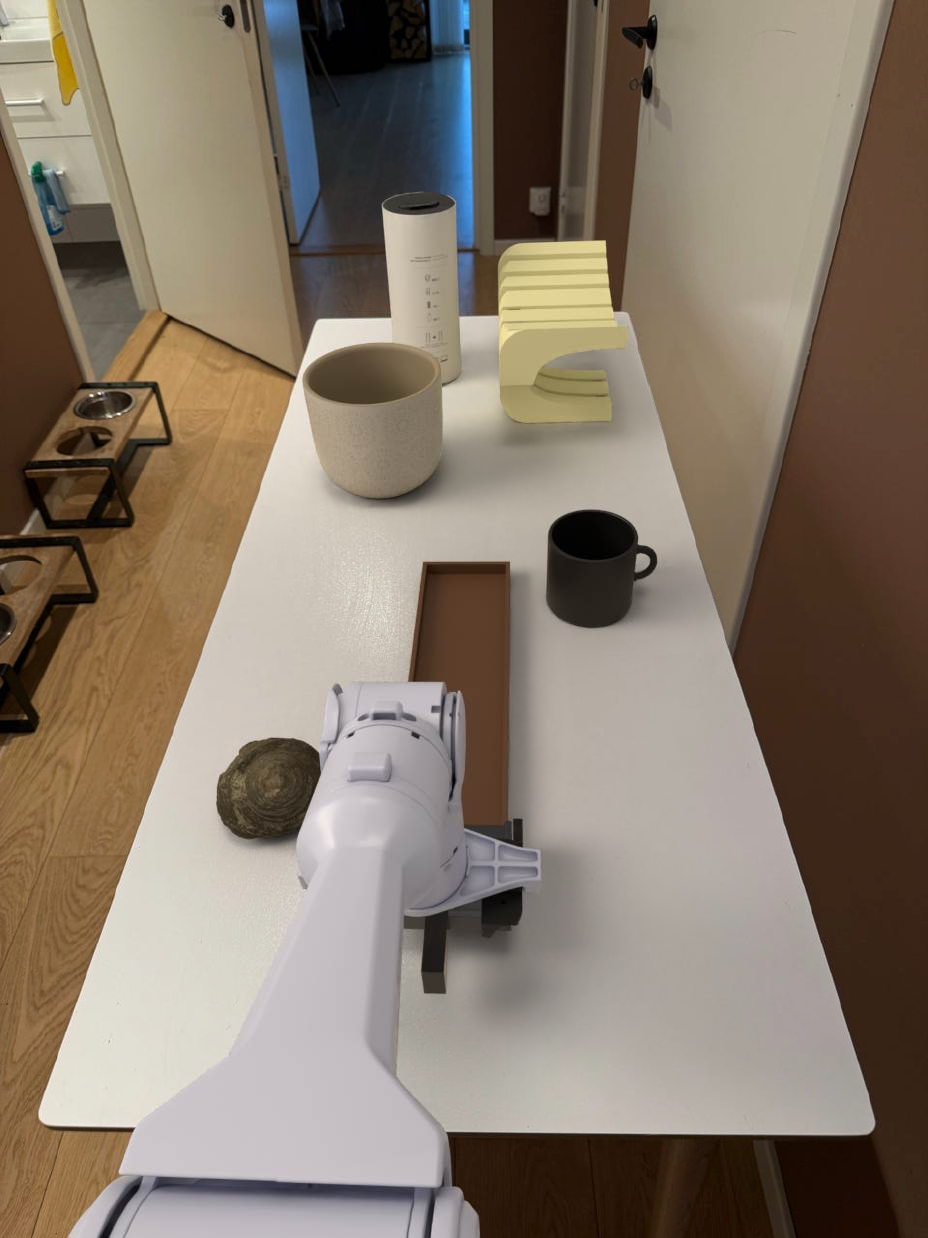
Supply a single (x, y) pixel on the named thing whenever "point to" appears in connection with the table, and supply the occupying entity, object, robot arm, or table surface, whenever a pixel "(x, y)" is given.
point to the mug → (593, 567)
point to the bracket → (518, 831)
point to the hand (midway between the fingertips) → (430, 922)
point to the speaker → (424, 275)
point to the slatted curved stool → (554, 330)
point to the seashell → (268, 787)
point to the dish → (450, 925)
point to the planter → (376, 417)
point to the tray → (470, 670)
